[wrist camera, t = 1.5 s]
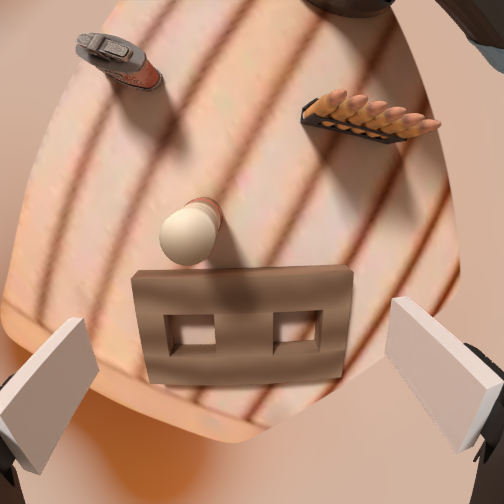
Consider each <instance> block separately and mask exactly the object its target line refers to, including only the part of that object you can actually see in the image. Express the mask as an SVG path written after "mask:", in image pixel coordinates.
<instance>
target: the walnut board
mask: <svg viewBox="0 0 504 504" xmlns="http://www.w3.org/2000/svg"><path fill="white" fill-rule="evenodd" d="M353 274H354V272H353V271H352V270H351V269H349V268H348V267H347V266H346V265H320V266H292V267H261V268H226V269H185V270H139V271H138V272H137V273H136V274H135V275H134V276H133V277H132V278H131V284H132V291H133V298H134V304H135V311H136V317H137V322H138V328H139V334H140V339H141V344H142V349H143V354H144V359H145V364H146V368H147V373H148V377H149V382H150V384H168V385H252V384H272V383H287V382H300V381H311V380H321V379H330V378H338V377H341V375H342V369H343V362H344V355H345V348H346V341H347V333H348V325H349V316H350V307H351V297H352V286H353ZM311 310H317V311H316V325H315V338H314V340H307V341H292V342H275V343H273V312H294V311H311ZM203 314H214V325H215V339H216V344H210V345H183V344H174V342H173V335H172V328H171V320H170V315H203Z"/></svg>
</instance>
